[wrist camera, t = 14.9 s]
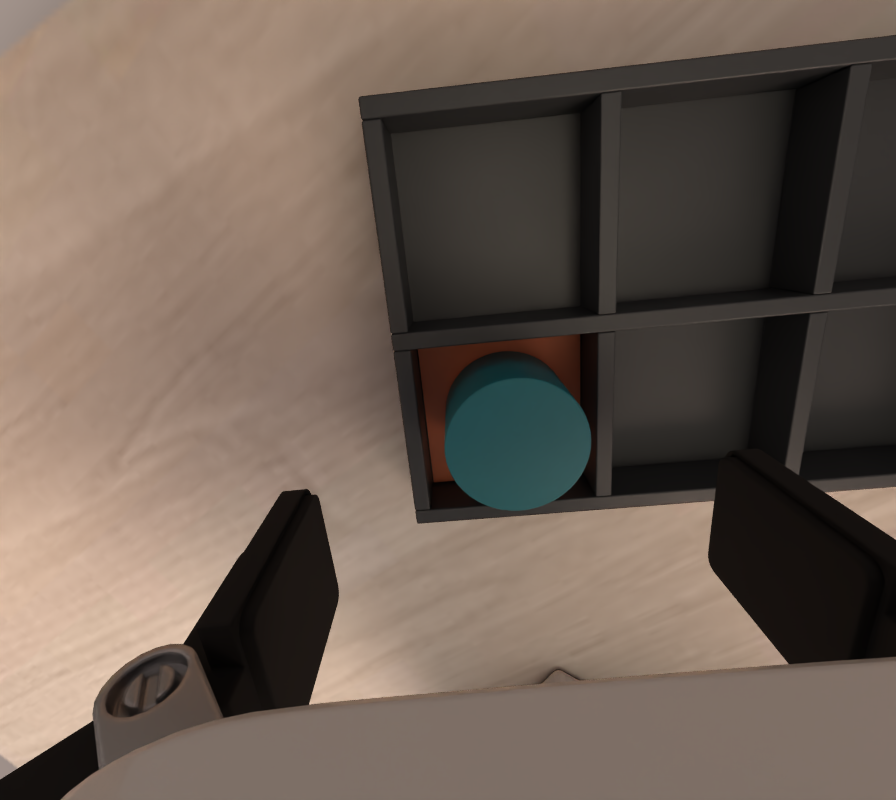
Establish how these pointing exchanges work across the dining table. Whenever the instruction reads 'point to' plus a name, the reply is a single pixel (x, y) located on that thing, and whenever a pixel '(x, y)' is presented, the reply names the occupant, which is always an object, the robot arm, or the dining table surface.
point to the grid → (653, 263)
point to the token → (514, 432)
